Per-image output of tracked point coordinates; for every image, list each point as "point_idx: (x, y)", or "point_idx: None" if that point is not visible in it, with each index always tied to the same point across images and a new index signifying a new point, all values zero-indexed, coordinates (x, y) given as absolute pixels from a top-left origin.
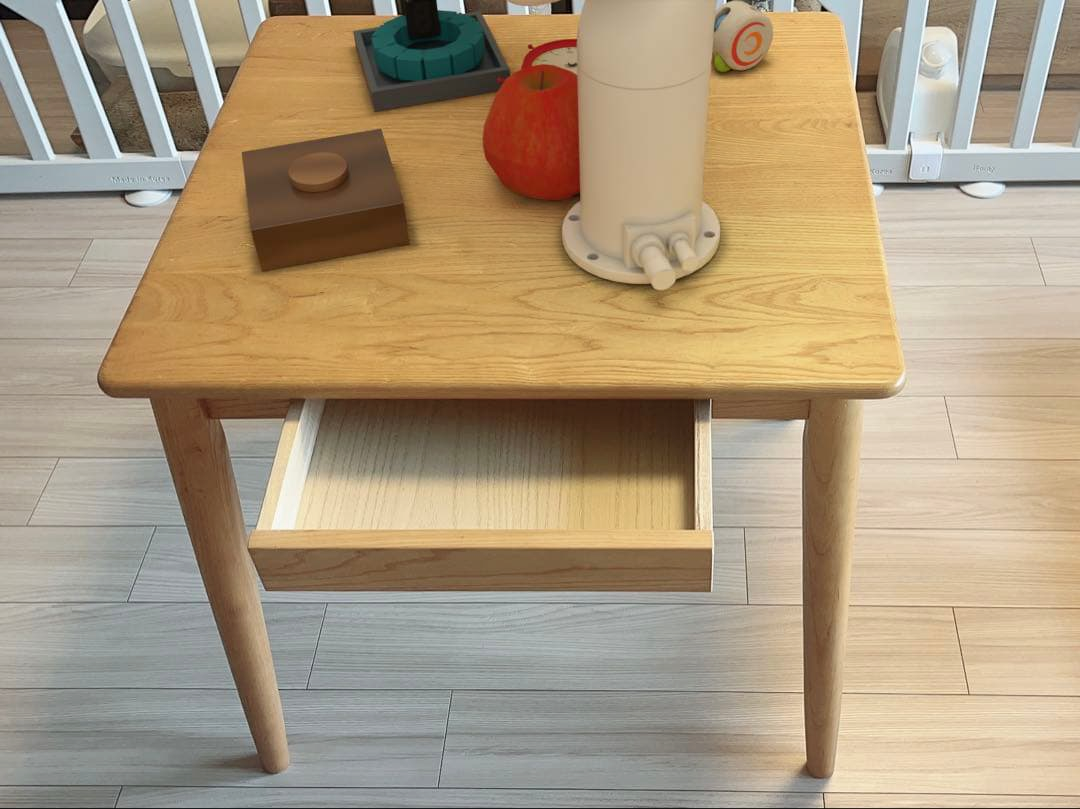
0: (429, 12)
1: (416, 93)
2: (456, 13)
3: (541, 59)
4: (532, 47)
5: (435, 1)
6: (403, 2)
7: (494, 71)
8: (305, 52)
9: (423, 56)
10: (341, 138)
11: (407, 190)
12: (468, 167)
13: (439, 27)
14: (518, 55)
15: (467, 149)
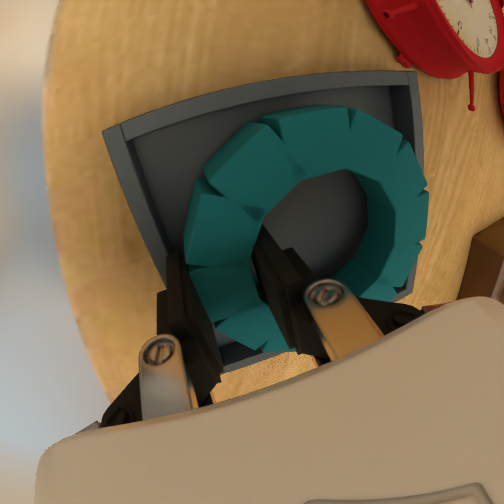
0: (310, 273)
1: None
2: (206, 193)
3: (457, 26)
4: (396, 12)
5: (297, 272)
6: (217, 347)
7: (419, 101)
8: (215, 394)
9: (413, 242)
10: (496, 287)
11: (493, 214)
12: (492, 159)
13: (266, 230)
14: (259, 33)
15: (477, 158)
